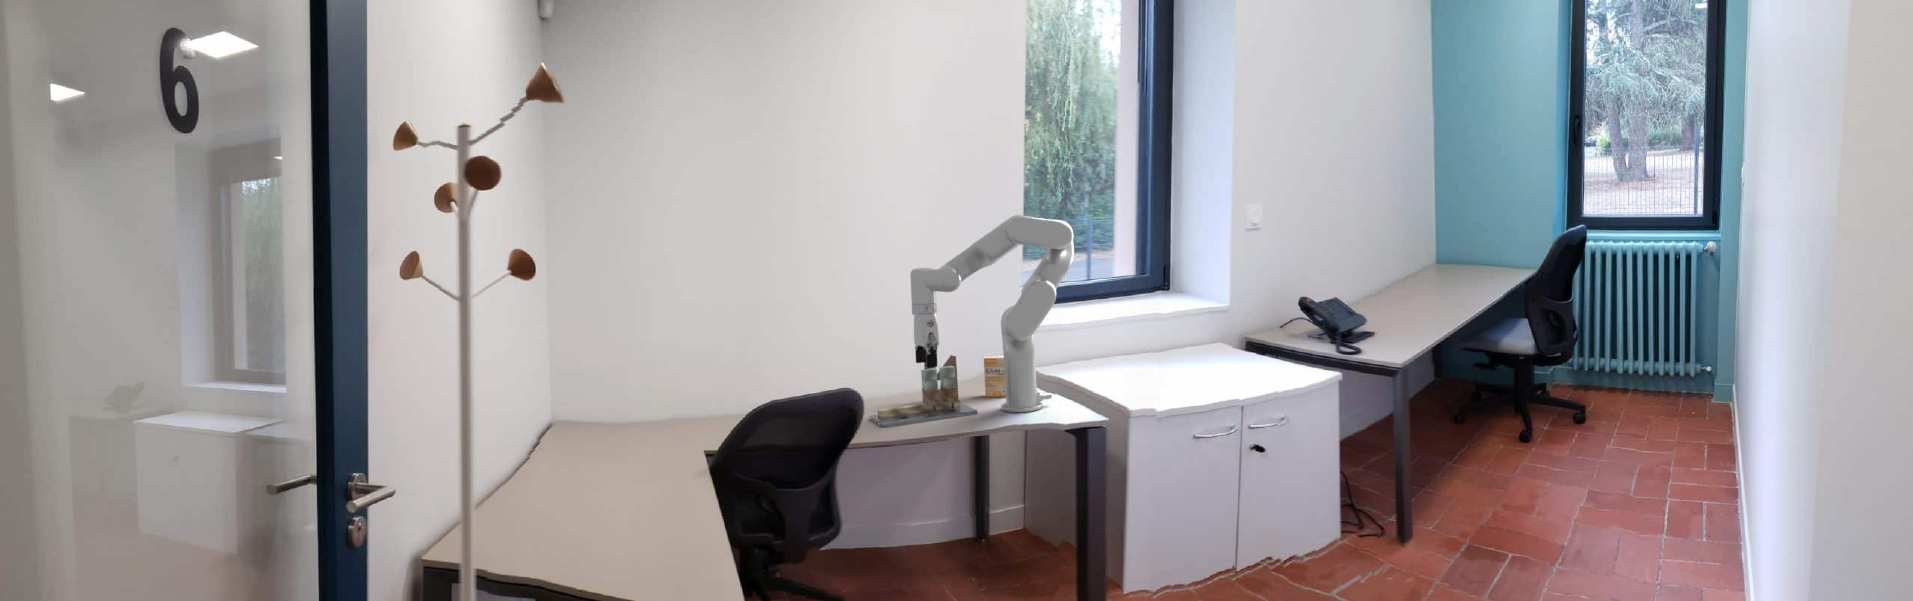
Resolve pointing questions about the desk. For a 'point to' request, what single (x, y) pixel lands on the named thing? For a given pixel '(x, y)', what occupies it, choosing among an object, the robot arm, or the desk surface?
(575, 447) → the desk surface
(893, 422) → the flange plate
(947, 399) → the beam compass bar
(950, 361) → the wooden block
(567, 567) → the desk surface
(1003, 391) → the supplement box
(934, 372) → the sliding leg
